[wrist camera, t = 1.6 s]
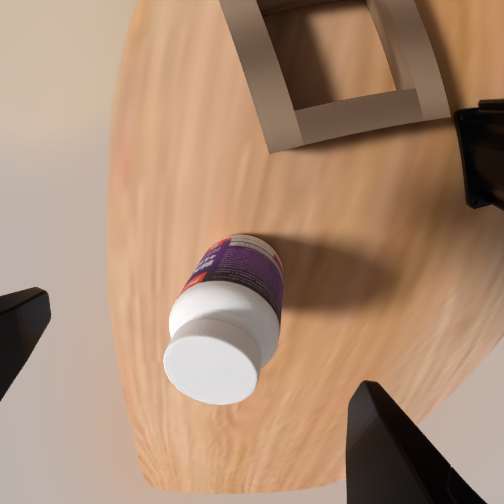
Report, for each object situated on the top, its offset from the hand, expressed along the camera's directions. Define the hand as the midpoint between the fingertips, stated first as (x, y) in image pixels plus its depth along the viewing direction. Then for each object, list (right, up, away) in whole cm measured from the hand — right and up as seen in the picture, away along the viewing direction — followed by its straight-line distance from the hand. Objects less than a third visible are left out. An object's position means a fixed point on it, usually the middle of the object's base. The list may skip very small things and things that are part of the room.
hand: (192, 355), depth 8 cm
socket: (+6, +14, +7) cm, 17 cm away
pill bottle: (+1, +1, +14) cm, 14 cm away
